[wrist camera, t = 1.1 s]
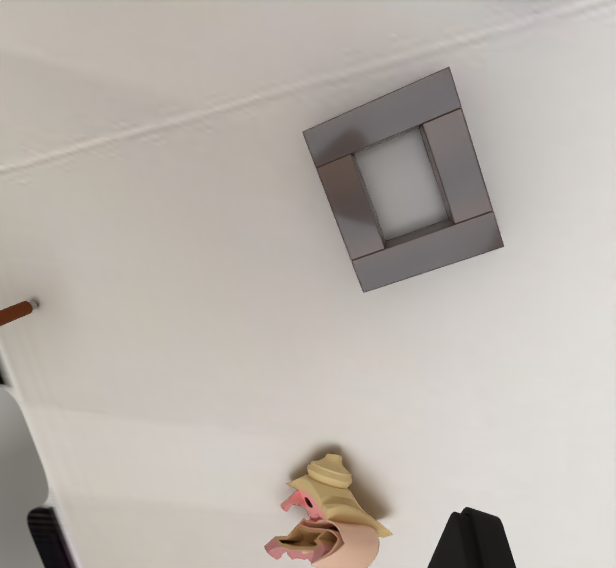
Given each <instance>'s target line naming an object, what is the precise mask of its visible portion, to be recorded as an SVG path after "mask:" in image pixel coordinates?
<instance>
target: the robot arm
mask: <svg viewBox="0 0 616 568" xmlns="http://www.w3.org/2000/svg"><path fill="white" fill-rule="evenodd" d="M428 568H516V566H515V563H514V560H513V556H512V553H511V550H510V547H509V543H508V540H507V537H506V534H505V531H504V527H503V524H502V522H501V520H500V519H499V518H498V517H497V516H493V515H490V514H487V513H484V512H481V511H478V510H475V509H472V508H469V507H465V508H464V509H463V511H462V512H461V514H460V513H457V512H453V513H452V514H451V516H450V518H449V520H448V522H447V524H446V527H445V529H444V531H443V533H442V536H441V538H440V540H439V543H438V545H437V547H436V549H435V552H434V554H433V556H432V559H431V561H430V563H429V565H428Z"/></svg>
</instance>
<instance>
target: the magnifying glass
mask: <svg viewBox="0 0 616 568" xmlns="http://www.w3.org/2000/svg"><path fill="white" fill-rule="evenodd" d="M36 307H37V304H36V303H35V302H34V301H30V302H27V301H23V302H21V303H18V304H16V305H13V306H10V307H8V308H5V309H3V310H0V326H2V325H4V324H6V323H9V322H11V321H13V320H16V319H18V318H20V317H23V316H25V315H27V314H30V313H31V312H32V310H33V309H35V308H36Z"/></svg>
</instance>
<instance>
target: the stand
mask: <svg viewBox="0 0 616 568" xmlns="http://www.w3.org/2000/svg"><path fill="white" fill-rule="evenodd" d="M418 127H419V129H420V132H421V135H422V138H423V141H424V144H425V147H426V150H427V153H428V156H429V159H430V162H431V165H432V168H433V171H434V174H435V177H436V180H437V184H438V187H439V190H440V193H441V196H442V199H443V202H444V205H445V208H446V211H447V214H448V217H449V219H447V220H444V221H442V222H439V223H436V224H433V225H430V226H428V227H425V228H422V229H419V230H416V231H413V232H411V233H408V234H405V235H402V236H399V237H397V238H394V239H391V240H388V241H385V239H384V236H383V233H382V230H381V227H380V225H379V222H378V219H377V216H376V214H375V211H374V208H373V205H372V202H371V200H370V197H369V194H368V191H367V189H366V186H365V183H364V180H363V177H362V175H361V172H360V169H359V166H358V164H357V161H356V158H355V155H354V154H356V153H358V152H360V151H363V150H365V149H368V148H370V147H372V146H375V145H377V144H380V143H382V142H384V141H387V140H389V139H392V138H394V137H396V136H399V135H401V134H404V133H406V132H408V131H411V130H413V129H416V128H418ZM303 135H304V138H305V140H306V143H307V145H308V148H309V151H310V153H311V156H312V159H313V161H314V164H315V167H316V168H317V172H318V174H319V177H320V180H321V182H322V185H323V188H324V190H325V193H326V195H327V198H328V201H329V203H330V206H331V209H332V211H333V214H334V217H335V219H336V222H337V224H338V227H339V230H340V232H341V235H342V238H343V240H344V243H345V245H346V248H347V251H348V253H349V256H350V259H351V260H352V264H353V267H354V269H355V272H356V275H357V277H358V280H359V282H360V285H361V288H362V290H363V292H367V291H370V290H374V289H377V288H380V287H383V286H386V285H389V284H392V283H395V282H398V281H401V280H404V279H407V278H410V277H413V276H416V275H419V274H422V273H425V272H428V271H431V270H434V269H438V268H441V267H444V266H447V265H450V264H453V263H456V262H459V261H462V260H465V259H468V258H471V257H474V256H477V255H480V254H483V253H486V252H489V251H492V250H495V249H499V248H502V247H504V244H503V241H502V238H501V235H500V231H499V228H498V225H497V221H496V218H495V215H494V212H493V209H492V205H491V202H490V199H489V196H488V192H487V189H486V186H485V182H484V179H483V176H482V173H481V169H480V166H479V163H478V160H477V156H476V153H475V150H474V146H473V143H472V140H471V137H470V133H469V130H468V127H467V124H466V120H465V117H464V114H463V111H462V108H461V104H460V100H459V97H458V94H457V91H456V87H455V84H454V81H453V77H452V74H451V71H450V68H449V67H447V68H445V69H443V70H441V71H438V72H436V73H434V74H432V75H429V76H427V77H425V78H423V79H420V80H418V81H416V82H414V83H411V84H409V85H407V86H405V87H402V88H400V89H398V90H396V91H393V92H391V93H389V94H387V95H384V96H382V97H380V98H378V99H375V100H373V101H371V102H369V103H366V104H364V105H362V106H360V107H357V108H355V109H353V110H351V111H348V112H346V113H344V114H342V115H339V116H337V117H335V118H333V119H330V120H328V121H326V122H324V123H321V124H319V125H317V126H315V127H312V128H310V129H308V130H306V131H303Z"/></svg>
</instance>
